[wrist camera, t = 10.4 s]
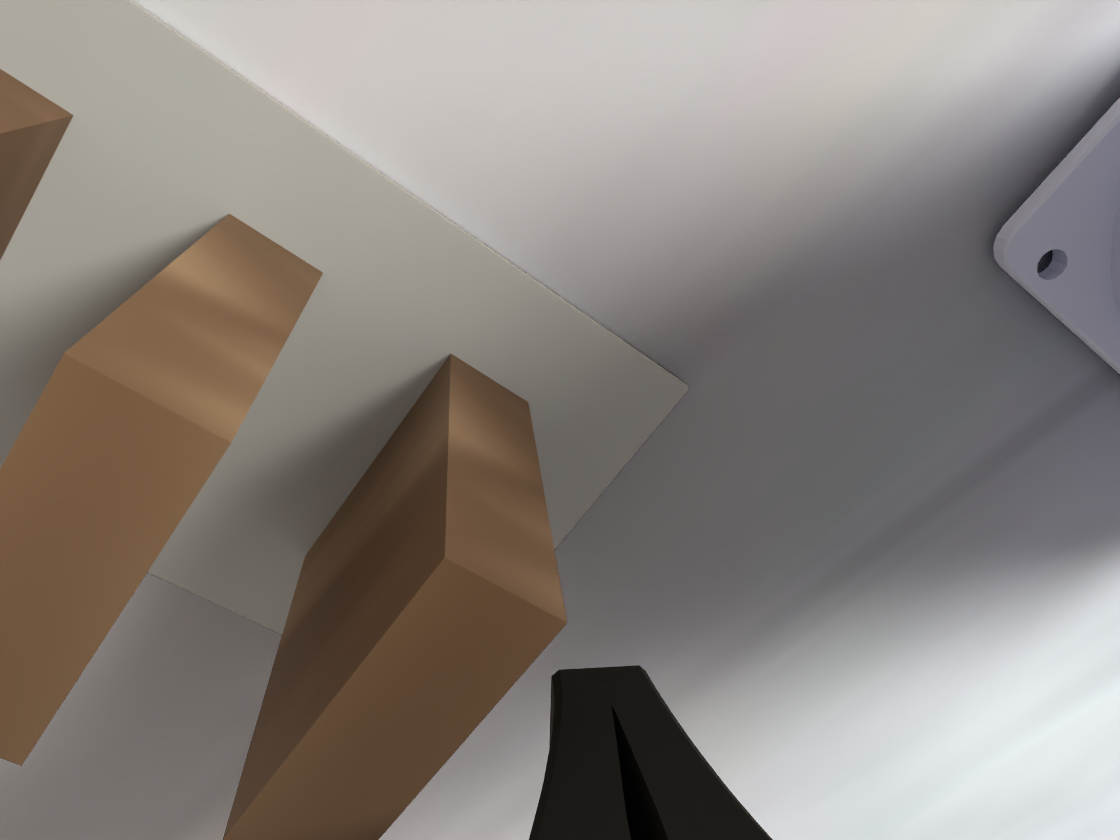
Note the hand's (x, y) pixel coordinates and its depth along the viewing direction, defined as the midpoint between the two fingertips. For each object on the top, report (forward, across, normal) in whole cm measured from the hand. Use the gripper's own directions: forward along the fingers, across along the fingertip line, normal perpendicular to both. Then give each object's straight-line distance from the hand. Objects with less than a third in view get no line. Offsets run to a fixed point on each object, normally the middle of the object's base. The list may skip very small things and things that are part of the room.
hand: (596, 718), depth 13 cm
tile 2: (+4, +6, -4) cm, 8 cm away
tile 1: (+4, +3, -2) cm, 5 cm away
